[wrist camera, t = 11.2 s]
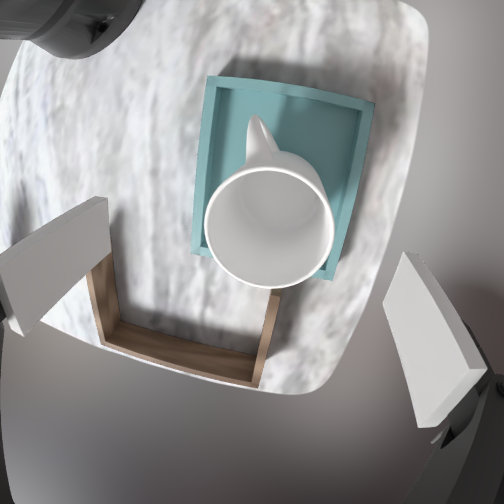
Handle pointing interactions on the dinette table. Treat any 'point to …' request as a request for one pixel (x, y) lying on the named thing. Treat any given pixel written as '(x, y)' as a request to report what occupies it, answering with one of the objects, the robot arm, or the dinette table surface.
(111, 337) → the bay
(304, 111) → the tray
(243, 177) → the mug
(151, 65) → the dinette table surface
